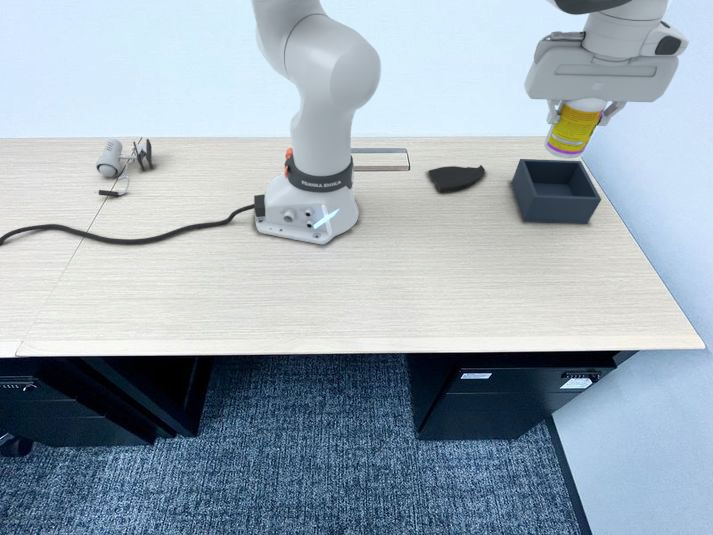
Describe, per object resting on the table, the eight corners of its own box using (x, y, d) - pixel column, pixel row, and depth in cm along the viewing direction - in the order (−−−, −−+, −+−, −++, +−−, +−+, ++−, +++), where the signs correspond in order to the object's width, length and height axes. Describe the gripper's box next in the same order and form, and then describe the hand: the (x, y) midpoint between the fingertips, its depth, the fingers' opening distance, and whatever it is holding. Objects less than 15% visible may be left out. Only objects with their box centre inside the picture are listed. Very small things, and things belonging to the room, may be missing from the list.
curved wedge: (492, 186, 95) (494, 180, 94) (438, 193, 93) (439, 188, 92) (477, 165, 100) (479, 160, 99) (426, 172, 98) (427, 167, 97)
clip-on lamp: (146, 205, 94) (157, 149, 103) (137, 188, 89) (149, 130, 97) (92, 205, 93) (108, 148, 101) (79, 187, 87) (97, 128, 95)
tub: (523, 221, 87) (534, 197, 82) (511, 183, 96) (520, 158, 90) (586, 224, 86) (601, 199, 81) (568, 185, 95) (580, 160, 90)
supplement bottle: (584, 162, 68) (621, 88, 58) (543, 157, 69) (573, 83, 59) (580, 141, 72) (615, 69, 62) (542, 136, 73) (570, 64, 64)
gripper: (547, 40, 54) (516, 131, 65) (702, 43, 53) (645, 135, 64) (536, 23, 58) (509, 111, 69) (680, 25, 58) (630, 115, 68)
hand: (576, 123), depth 67 cm, fingers closed on supplement bottle, 6 cm apart
